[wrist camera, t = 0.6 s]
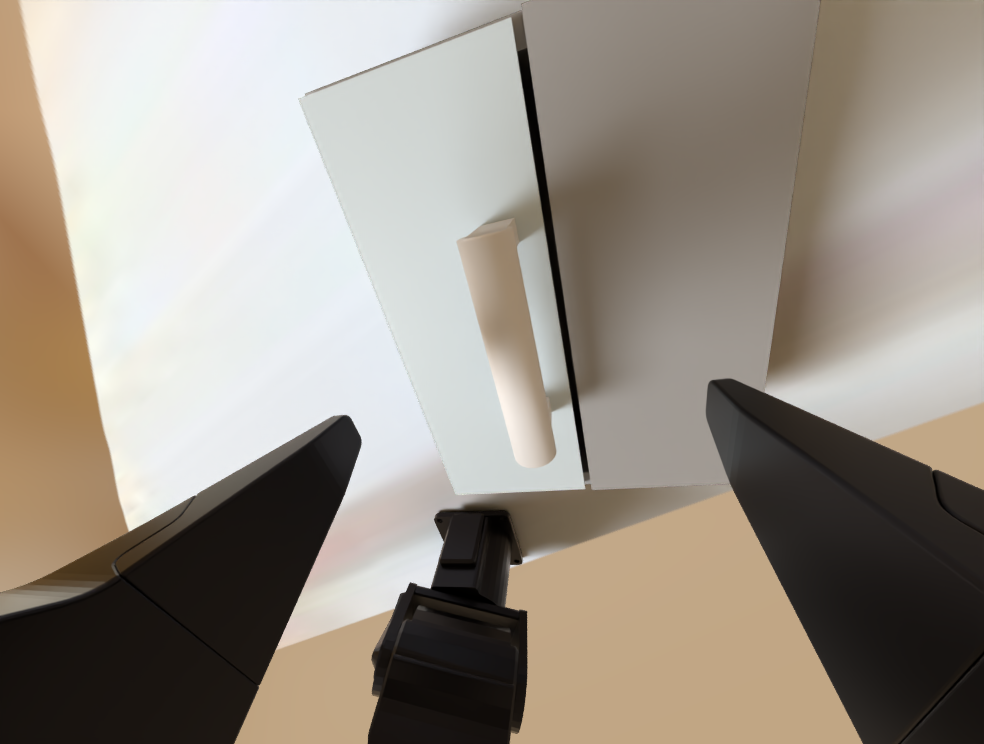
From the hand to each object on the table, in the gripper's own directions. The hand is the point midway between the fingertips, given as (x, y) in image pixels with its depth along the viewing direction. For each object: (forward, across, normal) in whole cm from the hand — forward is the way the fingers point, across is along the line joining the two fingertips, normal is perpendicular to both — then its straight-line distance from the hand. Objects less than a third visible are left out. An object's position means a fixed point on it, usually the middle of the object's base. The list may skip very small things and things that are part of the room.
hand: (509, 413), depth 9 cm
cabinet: (+12, -1, 0) cm, 12 cm away
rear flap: (+6, +2, 0) cm, 6 cm away
